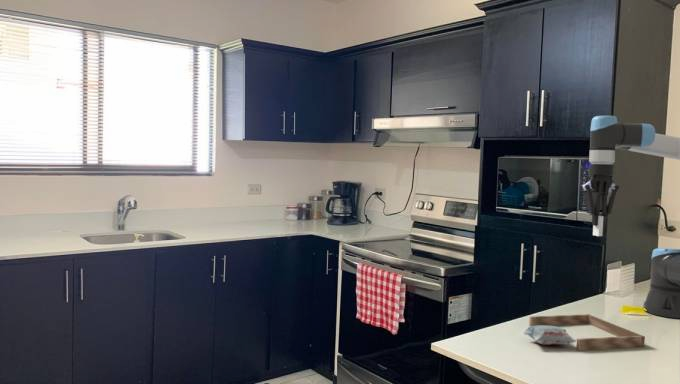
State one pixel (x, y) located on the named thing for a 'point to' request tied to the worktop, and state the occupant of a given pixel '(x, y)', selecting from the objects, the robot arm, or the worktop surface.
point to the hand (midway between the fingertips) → (597, 235)
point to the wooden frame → (623, 335)
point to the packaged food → (549, 335)
